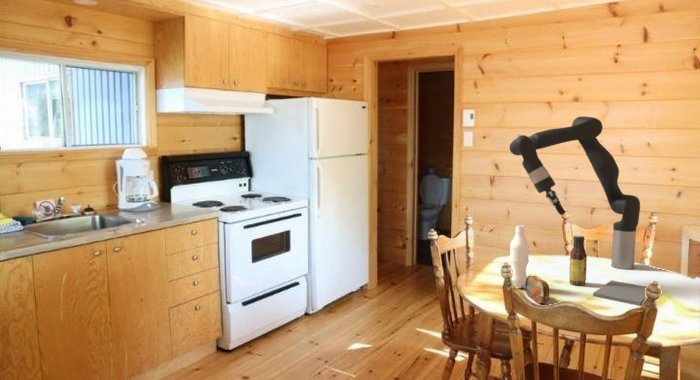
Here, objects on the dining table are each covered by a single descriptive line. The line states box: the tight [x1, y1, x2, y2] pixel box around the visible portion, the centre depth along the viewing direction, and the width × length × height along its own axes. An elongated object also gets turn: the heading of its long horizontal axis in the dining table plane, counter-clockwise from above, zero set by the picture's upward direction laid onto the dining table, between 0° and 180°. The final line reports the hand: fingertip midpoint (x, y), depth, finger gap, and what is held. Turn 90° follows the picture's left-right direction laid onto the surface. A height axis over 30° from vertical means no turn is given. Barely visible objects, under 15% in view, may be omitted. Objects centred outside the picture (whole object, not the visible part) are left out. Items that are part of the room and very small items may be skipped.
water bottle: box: [509, 224, 530, 290], centre depth 205 cm, size 7×7×25 cm
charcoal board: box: [592, 280, 647, 307], centre depth 197 cm, size 22×16×1 cm
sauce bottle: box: [569, 234, 588, 286], centre depth 209 cm, size 6×6×20 cm
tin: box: [525, 274, 551, 304], centre depth 190 cm, size 15×3×8 cm, turn 5°
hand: (562, 213), depth 211 cm, fingers open, 8 cm apart
